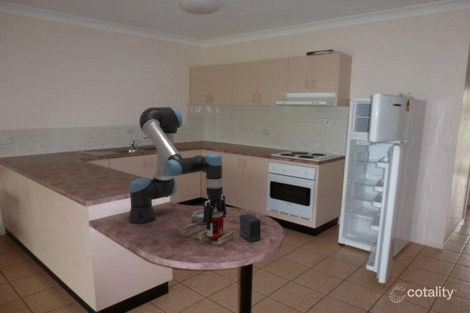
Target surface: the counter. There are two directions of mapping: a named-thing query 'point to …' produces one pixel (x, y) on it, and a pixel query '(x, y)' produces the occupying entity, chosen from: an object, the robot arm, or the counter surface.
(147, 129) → the robot arm
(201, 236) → the notched rail
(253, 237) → the small box
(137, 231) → the counter surface
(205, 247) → the counter surface
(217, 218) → the canned food
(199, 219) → the dish
